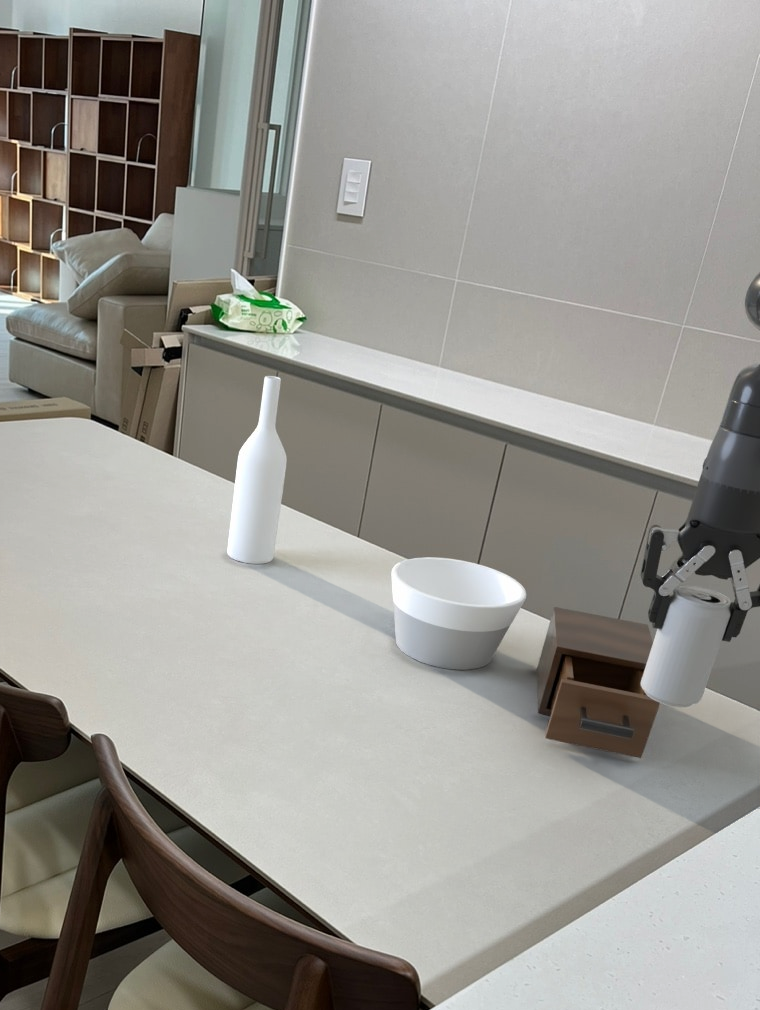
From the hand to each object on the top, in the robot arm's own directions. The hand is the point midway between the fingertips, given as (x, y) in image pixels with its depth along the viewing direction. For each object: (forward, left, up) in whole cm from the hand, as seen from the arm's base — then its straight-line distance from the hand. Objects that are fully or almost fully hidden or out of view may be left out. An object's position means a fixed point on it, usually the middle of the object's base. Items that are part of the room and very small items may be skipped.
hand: (690, 632), depth 112 cm
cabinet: (+4, -26, -22) cm, 34 cm away
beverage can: (0, 0, -8) cm, 8 cm away
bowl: (+24, -34, -22) cm, 47 cm away
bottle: (+59, -58, -22) cm, 86 cm away
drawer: (+4, -14, -21) cm, 26 cm away
